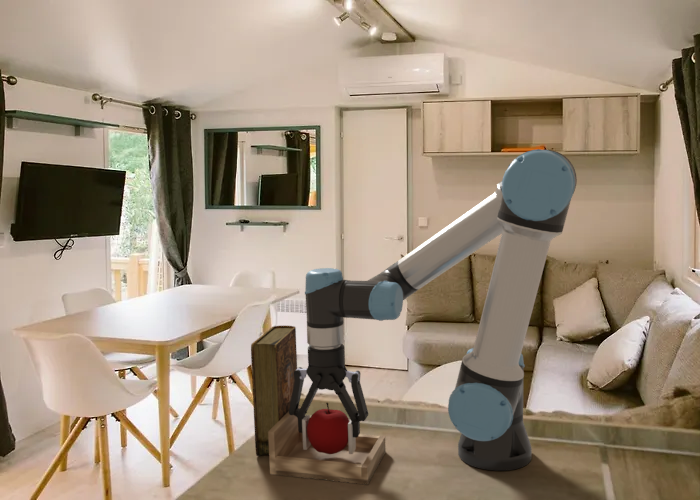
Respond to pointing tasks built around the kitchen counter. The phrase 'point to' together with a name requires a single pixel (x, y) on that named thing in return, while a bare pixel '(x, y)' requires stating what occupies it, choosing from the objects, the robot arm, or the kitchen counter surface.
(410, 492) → the kitchen counter surface
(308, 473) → the tray
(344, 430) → the apple
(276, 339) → the book
